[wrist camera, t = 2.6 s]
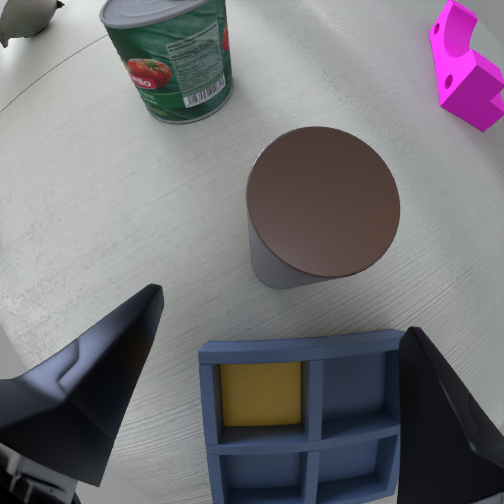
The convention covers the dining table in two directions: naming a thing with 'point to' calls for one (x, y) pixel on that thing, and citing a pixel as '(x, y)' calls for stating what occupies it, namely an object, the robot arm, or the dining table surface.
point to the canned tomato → (173, 54)
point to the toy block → (465, 69)
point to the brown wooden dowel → (318, 208)
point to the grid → (302, 418)
